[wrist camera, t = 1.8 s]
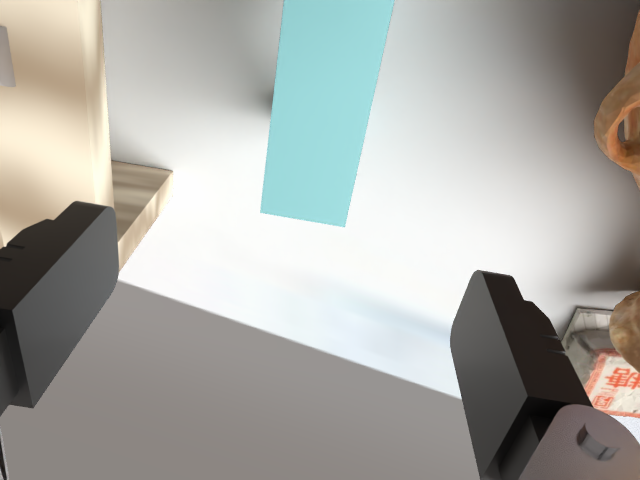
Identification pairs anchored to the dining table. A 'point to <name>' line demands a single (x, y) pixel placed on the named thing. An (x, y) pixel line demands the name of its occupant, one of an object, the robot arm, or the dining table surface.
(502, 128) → the dining table surface
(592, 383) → the packaged product
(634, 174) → the orange-brown rounded sculpted piece
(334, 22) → the teal arch block
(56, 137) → the shelf
